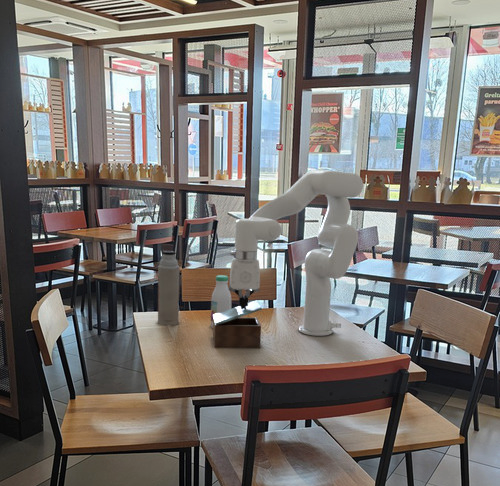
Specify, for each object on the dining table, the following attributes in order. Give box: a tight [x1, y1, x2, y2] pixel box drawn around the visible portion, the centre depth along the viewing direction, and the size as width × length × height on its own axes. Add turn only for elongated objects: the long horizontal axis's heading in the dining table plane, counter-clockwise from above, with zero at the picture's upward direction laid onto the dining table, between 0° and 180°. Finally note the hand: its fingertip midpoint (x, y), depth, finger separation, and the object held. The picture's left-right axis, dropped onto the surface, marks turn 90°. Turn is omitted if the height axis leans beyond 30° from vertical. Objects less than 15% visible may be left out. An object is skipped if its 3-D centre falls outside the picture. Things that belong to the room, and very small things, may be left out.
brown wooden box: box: [212, 317, 262, 349], centre depth 200 cm, size 16×11×8 cm
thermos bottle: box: [157, 250, 180, 327], centre depth 220 cm, size 8×8×28 cm
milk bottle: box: [210, 274, 232, 329], centre depth 218 cm, size 8×8×20 cm
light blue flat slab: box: [213, 299, 263, 325], centre depth 198 cm, size 16×11×1 cm
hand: (243, 308), depth 198 cm, fingers closed
